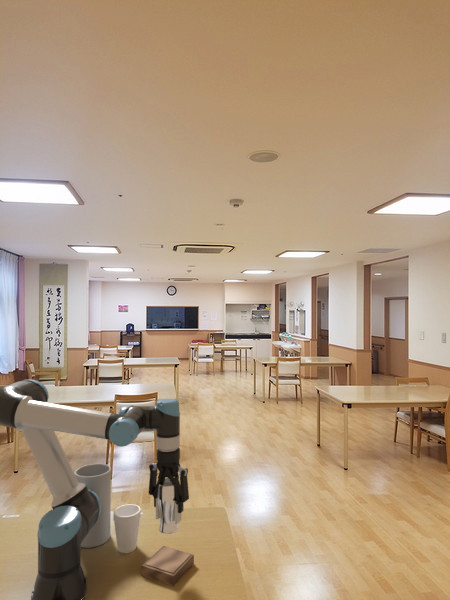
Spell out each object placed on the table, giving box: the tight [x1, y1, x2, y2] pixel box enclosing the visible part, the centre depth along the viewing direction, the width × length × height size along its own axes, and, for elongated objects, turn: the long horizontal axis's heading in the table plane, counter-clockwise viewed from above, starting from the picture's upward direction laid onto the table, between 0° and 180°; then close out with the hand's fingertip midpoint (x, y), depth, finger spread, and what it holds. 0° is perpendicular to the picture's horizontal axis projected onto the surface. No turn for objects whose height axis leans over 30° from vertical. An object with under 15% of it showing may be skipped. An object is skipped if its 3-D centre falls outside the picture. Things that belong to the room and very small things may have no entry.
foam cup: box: [113, 503, 142, 554], centre depth 144 cm, size 10×9×13 cm
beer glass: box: [158, 477, 179, 535], centre depth 132 cm, size 7×7×15 cm
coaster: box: [141, 545, 195, 587], centre depth 132 cm, size 12×12×3 cm
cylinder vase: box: [74, 463, 112, 549], centre depth 150 cm, size 12×12×25 cm
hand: (168, 519), depth 132 cm, fingers closed on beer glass, 7 cm apart
